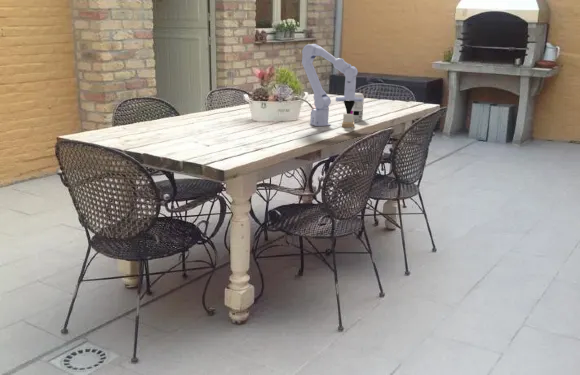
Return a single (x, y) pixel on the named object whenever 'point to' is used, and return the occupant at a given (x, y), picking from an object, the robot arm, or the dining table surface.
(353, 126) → the carton
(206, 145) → the dining table surface
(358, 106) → the supplement can
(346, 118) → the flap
